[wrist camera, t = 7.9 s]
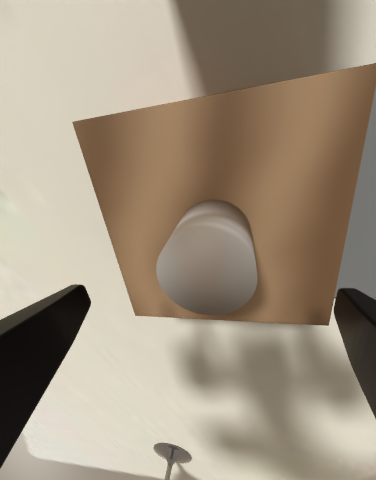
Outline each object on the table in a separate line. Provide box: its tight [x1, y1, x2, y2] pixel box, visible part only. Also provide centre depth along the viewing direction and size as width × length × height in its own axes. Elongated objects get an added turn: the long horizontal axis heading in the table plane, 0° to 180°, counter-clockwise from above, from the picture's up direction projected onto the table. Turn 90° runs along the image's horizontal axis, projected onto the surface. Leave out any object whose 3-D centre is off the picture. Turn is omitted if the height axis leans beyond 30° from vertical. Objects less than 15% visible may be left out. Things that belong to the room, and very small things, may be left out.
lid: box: [72, 63, 376, 326], centre depth 11 cm, size 13×13×5 cm
